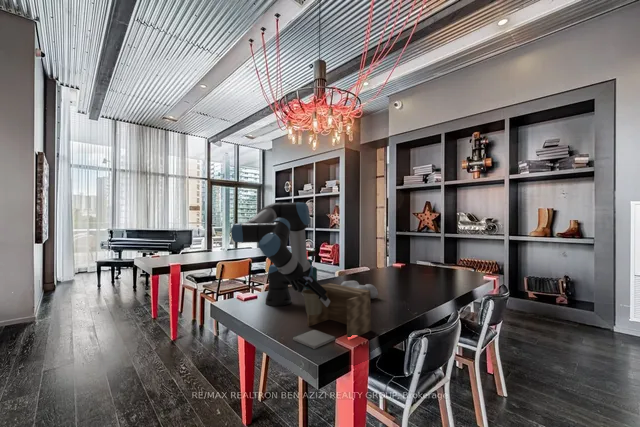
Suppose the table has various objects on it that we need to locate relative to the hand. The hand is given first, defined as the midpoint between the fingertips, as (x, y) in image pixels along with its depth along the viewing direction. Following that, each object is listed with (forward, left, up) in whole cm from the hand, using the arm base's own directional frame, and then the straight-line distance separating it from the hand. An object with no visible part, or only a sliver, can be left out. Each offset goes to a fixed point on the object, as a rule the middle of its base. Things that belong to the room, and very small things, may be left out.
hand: (319, 301), depth 118 cm
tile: (-2, -2, -15) cm, 15 cm away
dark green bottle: (+1, +80, -15) cm, 82 cm away
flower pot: (-2, -2, -4) cm, 5 cm away
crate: (+9, +9, -15) cm, 20 cm away
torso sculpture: (+31, +66, -15) cm, 74 cm away
